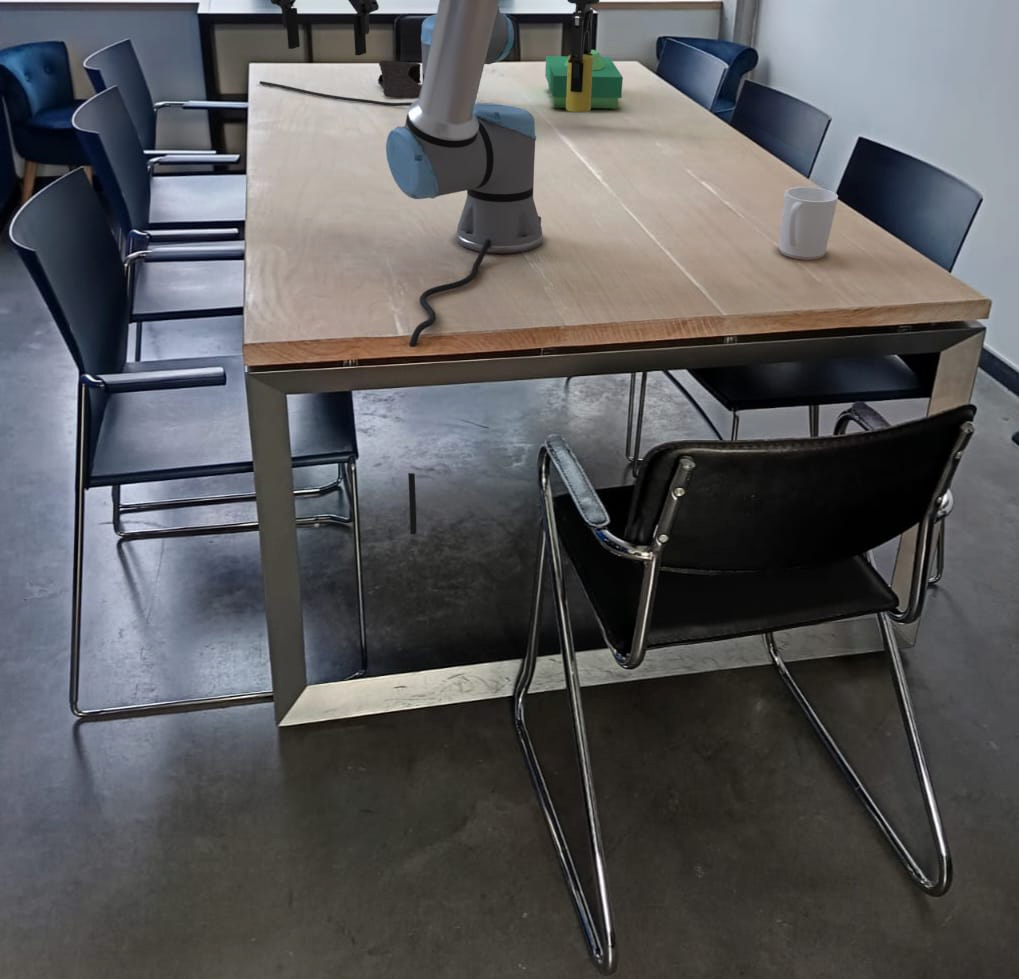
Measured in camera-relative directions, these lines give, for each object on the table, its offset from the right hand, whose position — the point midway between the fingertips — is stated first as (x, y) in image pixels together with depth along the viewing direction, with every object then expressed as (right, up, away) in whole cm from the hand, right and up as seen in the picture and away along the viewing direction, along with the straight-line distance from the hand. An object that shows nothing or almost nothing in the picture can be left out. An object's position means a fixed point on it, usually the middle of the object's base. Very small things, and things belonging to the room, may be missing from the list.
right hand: (327, 51), depth 197 cm
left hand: (+50, +18, +67) cm, 86 cm away
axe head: (+4, +31, +104) cm, 108 cm away
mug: (+84, -37, -4) cm, 92 cm away
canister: (+50, +14, +70) cm, 87 cm away
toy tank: (+52, +28, +102) cm, 118 cm away
